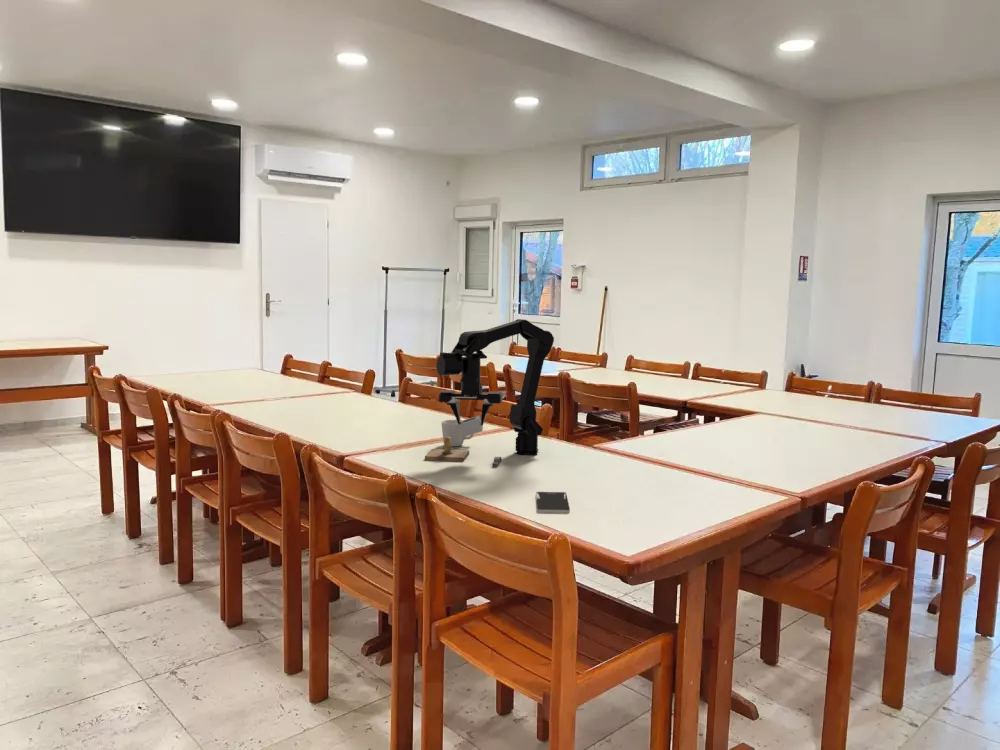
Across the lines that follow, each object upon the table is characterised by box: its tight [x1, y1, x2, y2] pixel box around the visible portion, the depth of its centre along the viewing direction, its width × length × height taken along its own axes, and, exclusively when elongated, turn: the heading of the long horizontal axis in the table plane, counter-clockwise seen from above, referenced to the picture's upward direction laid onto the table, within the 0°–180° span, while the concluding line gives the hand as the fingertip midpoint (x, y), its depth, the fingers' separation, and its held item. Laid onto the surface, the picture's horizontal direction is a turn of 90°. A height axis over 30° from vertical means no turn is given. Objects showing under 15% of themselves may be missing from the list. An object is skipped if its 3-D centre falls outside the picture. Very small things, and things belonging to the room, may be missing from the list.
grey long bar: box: [491, 456, 502, 468], centre depth 219 cm, size 2×9×2 cm, turn 173°
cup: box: [441, 419, 474, 448], centre depth 243 cm, size 11×8×8 cm
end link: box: [459, 415, 484, 437], centre depth 221 cm, size 6×6×4 cm
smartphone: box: [535, 490, 571, 514], centre depth 179 cm, size 8×1×15 cm
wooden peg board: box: [424, 437, 470, 462], centre depth 227 cm, size 12×10×6 cm
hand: (470, 425), depth 222 cm, fingers closed on end link, 7 cm apart
